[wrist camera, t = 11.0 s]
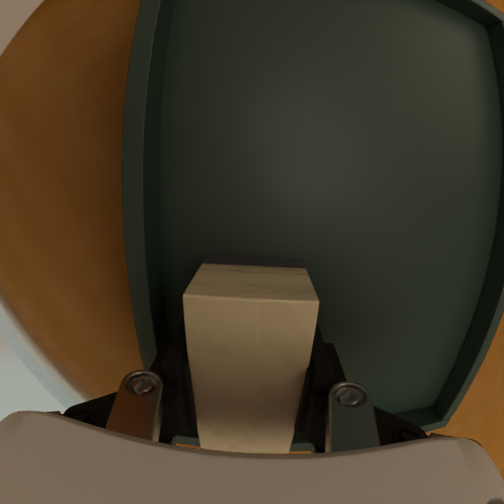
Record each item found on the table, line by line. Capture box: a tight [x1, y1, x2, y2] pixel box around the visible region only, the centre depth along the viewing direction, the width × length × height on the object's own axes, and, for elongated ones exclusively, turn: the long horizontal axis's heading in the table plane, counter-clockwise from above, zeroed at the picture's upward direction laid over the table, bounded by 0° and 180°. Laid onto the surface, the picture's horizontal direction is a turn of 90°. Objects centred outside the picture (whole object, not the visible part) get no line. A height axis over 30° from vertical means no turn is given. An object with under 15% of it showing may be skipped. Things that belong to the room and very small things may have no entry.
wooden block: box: [183, 255, 319, 453], centre depth 10 cm, size 7×4×4 cm, turn 178°
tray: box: [122, 0, 504, 451], centre depth 9 cm, size 24×17×2 cm
